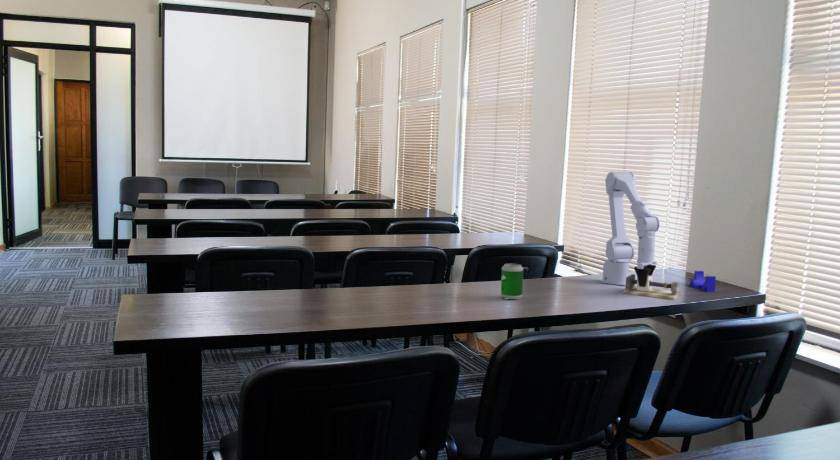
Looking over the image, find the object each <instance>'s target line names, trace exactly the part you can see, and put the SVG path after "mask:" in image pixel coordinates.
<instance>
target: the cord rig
mask: <svg viewBox="0 0 840 460" xmlns="http://www.w3.org/2000/svg"><path fill="white" fill-rule="evenodd" d="M636 285H637V279H636V274H634V273H633V274H632V273H631V274H630V275H628V277H626V286H625V287H624V288H625V289H624V290H623V294H626V295H627V294H628V295H633V296H641V295H642V297H648V296H649V298H657V299H664V300H665V299H666V300H672V301H675V300H676V299H677V298H678V297H679V296H681V291H680V281H672V282H670V283H669V282H658V281H652V282H651V281H649V286H652V287H656V288H657V287H658V288H663V289H656V288H651V290H649V291H640V290H637V286H636ZM667 289H670V290H667Z"/></svg>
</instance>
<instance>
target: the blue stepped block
mask: <svg viewBox="0 0 840 460" xmlns="http://www.w3.org/2000/svg"><path fill="white" fill-rule="evenodd" d="M693 274H694V277H693V278H691V277H690V278H689V286H691V287H692V288H695V289H700V290H702V291H704V292H706V293H715V292H716V280H717V278H716V276H715V275H706V276H705V275H704V274H705V273H704V271H703V270H694V273H693Z"/></svg>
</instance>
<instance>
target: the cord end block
mask: <svg viewBox="0 0 840 460" xmlns="http://www.w3.org/2000/svg"><path fill="white" fill-rule="evenodd" d="M636 280H637V284H636V287H637V290H640V291H649V290H651V289H652V288H653V286H649V281H651V282H653V275H652V276H649V275H648V277H647V282H646V286H645V287H640V286H639V283H638V278H637V279H636Z"/></svg>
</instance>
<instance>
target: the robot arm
mask: <svg viewBox="0 0 840 460" xmlns="http://www.w3.org/2000/svg"><path fill="white" fill-rule="evenodd" d="M604 181H605V182H604V183H605V191H606V194H607V195H608V204H609V214H610V215H609V216H610V224H611V225H610V226H611V234H612V235H611V236H612V237H611V238H610V239H608V240H607V241H606V247H605V256H606V258H607V259H606V260H604V262H603V266H602V281H601V283H602V284H610V285H617V286H624V287H626V277H628V276H629V271H630V270H629V268H630V262H632V259H634V257H635V248H634V245H633V241H632V239H630V238H629V237H628V236H627V235H626V234H627V233H626V224H625V222H626V221H625V212H624V204H623V203H624V201H623V200H624V199H623V197H624V196H626V197H627V199H628V200H629V202H630V204H631V206H630V211H631V213H632V215H633V216H634V219H635V220H636V223H635V229H636V234H637V237H638V244H637V260H636V263H637V265H636V266H634V267H633V268H634V272H635V275H636V276H637V278H638V283H639V286H640V287H645V286H646V282H647V277H648V275H649V276H652V277H653V274H654V271H655V270H656V268H657V265H656V264H658V261H657V260H656V261H655V245H656V232H658V231H659V228H660V221H659V218H658V216H655V215H654V214H653V213H651V211H650V209H649V207H648V205H647V202H646V201H644V200H641V197H640V195H639V193H638V190H637V188H636V181H637V179H636V176H635V173H633V172H632V171H626V172H623V171H622V172H621V171H619V172H618V171H617V172H614V171H610V172H608V173H607V175H606V177H605V180H604Z"/></svg>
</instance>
